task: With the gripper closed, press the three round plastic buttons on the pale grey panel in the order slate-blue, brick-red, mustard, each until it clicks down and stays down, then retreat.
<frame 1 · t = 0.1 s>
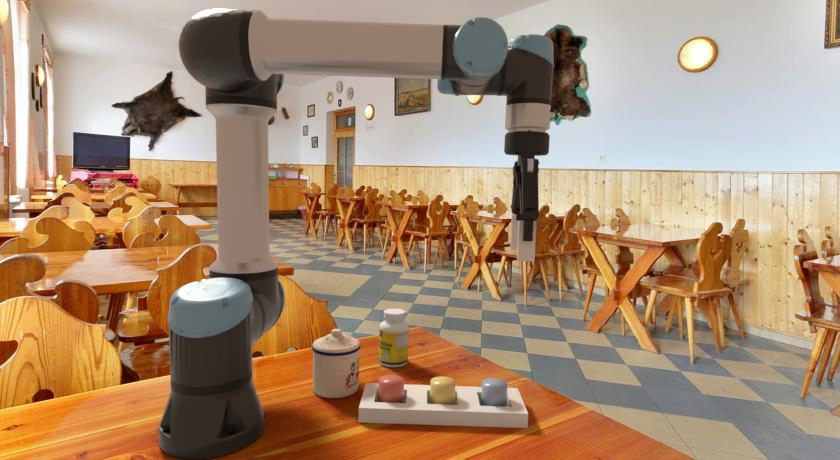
hand: (521, 254, 88), 28 cm above the table, fingers open, 13 cm apart
teacup with lid: (337, 387, 97), on the table
blue button: (494, 393, 87), point 4 cm above the table, slide at 0.0 cm
red button: (391, 389, 87), point 4 cm above the table, slide at 0.0 cm
mustard button: (442, 391, 87), point 4 cm above the table, slide at 0.0 cm
panel: (441, 411, 87), on the table
pill bottle: (393, 363, 109), on the table
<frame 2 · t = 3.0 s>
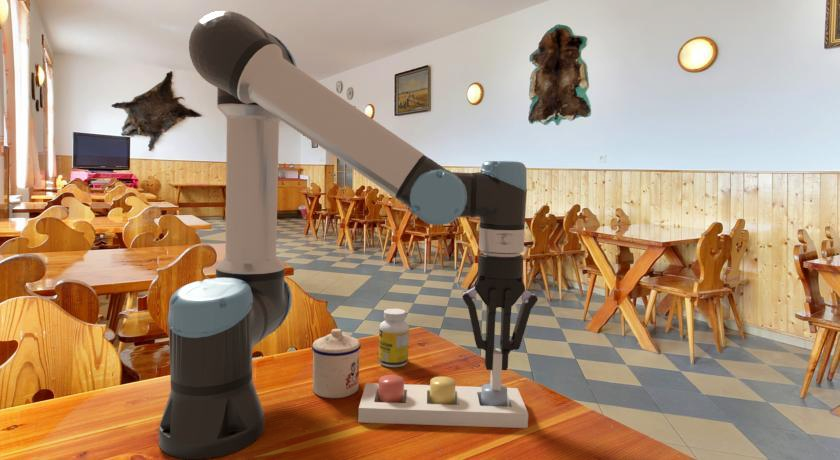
hand: (495, 387, 87), 5 cm above the table, fingers closed
blue button: (494, 398, 87), point 3 cm above the table, slide at 0.9 cm, touching gripper
everything else where it was.
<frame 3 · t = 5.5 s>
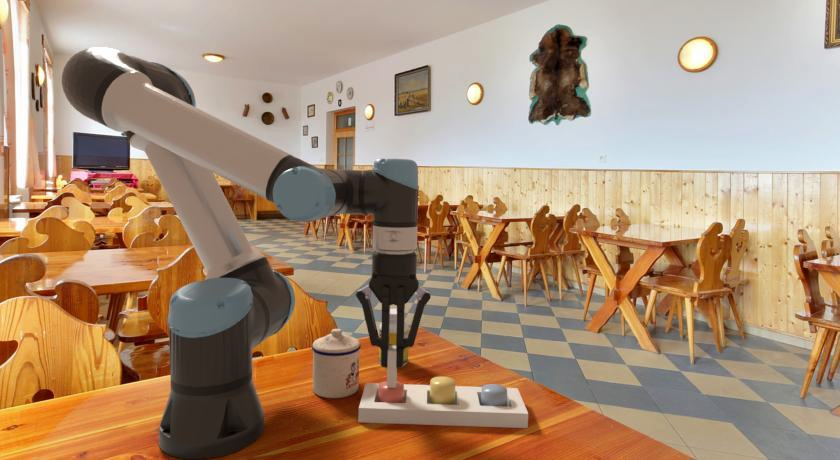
hand: (391, 384, 87), 5 cm above the table, fingers closed
blue button: (493, 398, 87), point 3 cm above the table, slide at 1.1 cm
red button: (391, 395, 87), point 3 cm above the table, slide at 1.0 cm, touching gripper
everything else where it was.
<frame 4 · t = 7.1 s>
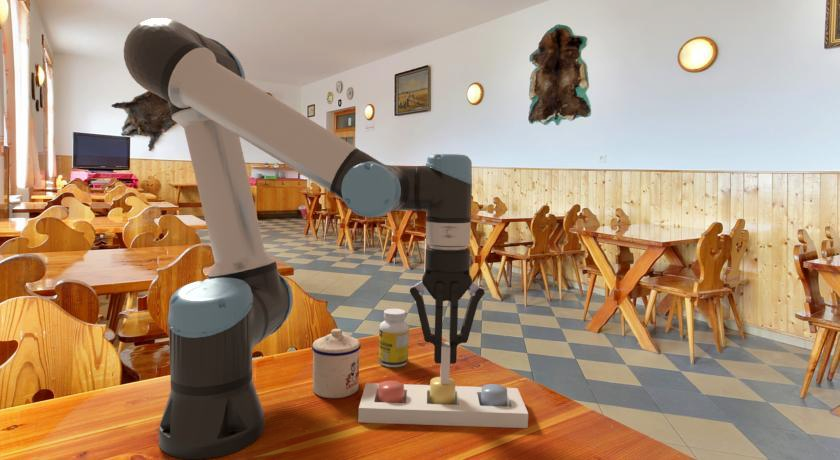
hand: (444, 380, 87), 6 cm above the table, fingers closed
red button: (391, 395, 87), point 3 cm above the table, slide at 1.1 cm
mustard button: (442, 391, 87), point 4 cm above the table, slide at 0.1 cm, touching gripper
everything else where it was.
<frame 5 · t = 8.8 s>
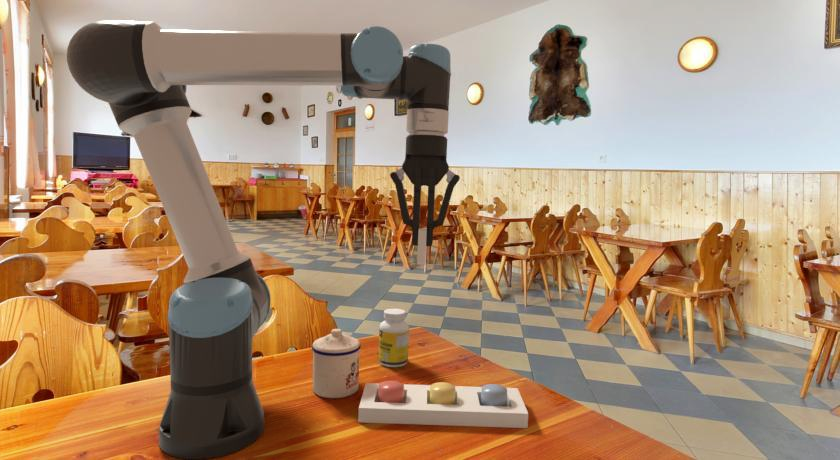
hand: (421, 263, 93), 25 cm above the table, fingers closed
mustard button: (442, 397, 87), point 3 cm above the table, slide at 1.1 cm
everything else where it was.
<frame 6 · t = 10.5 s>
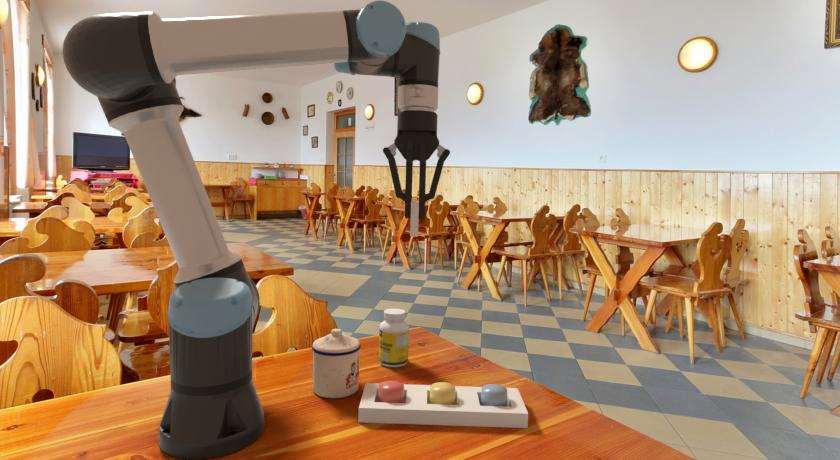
hand: (414, 235, 96), 29 cm above the table, fingers closed
nothing on the table moved.
at the end: blue button slide at 1.1 cm; red button slide at 1.1 cm; mustard button slide at 1.1 cm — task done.
